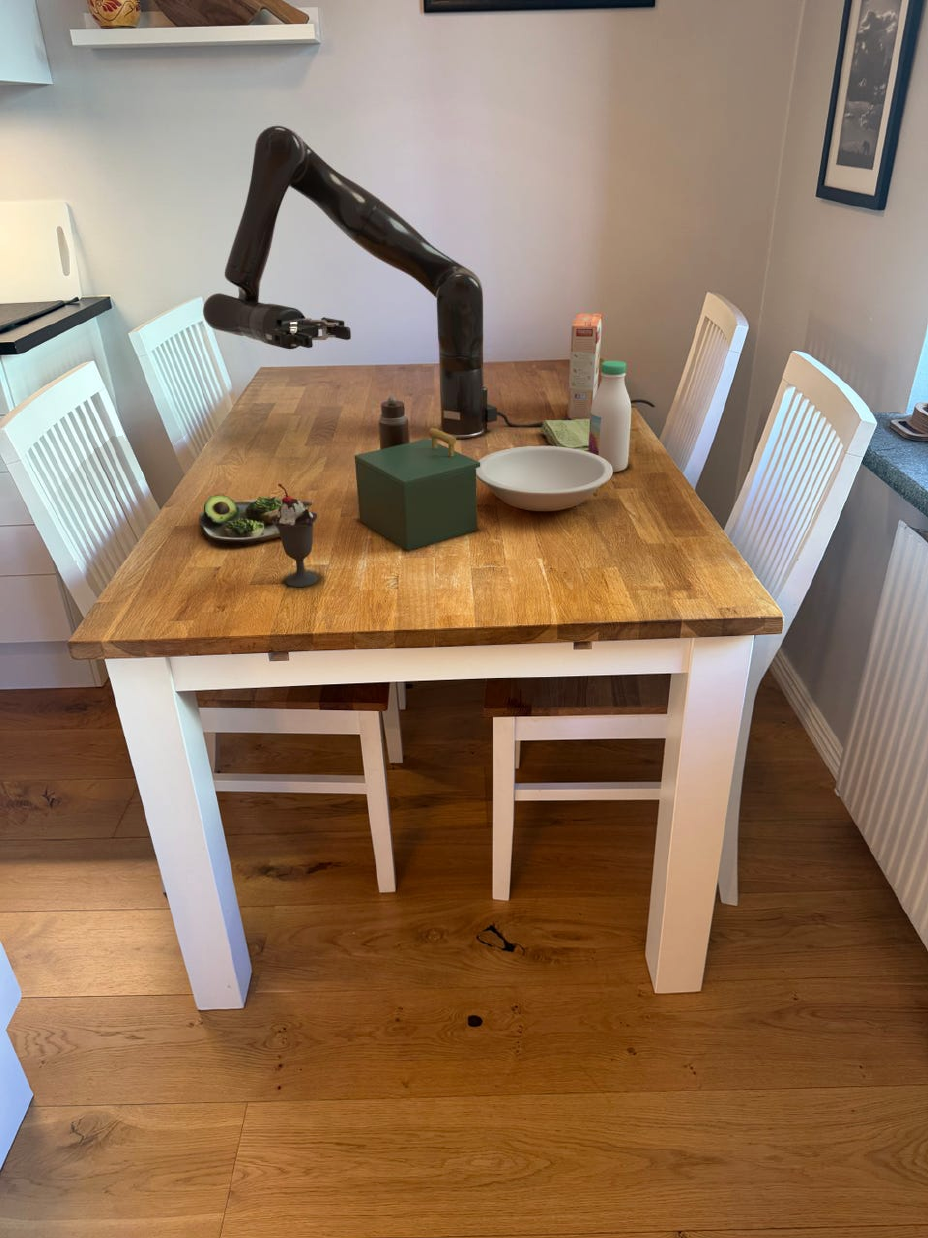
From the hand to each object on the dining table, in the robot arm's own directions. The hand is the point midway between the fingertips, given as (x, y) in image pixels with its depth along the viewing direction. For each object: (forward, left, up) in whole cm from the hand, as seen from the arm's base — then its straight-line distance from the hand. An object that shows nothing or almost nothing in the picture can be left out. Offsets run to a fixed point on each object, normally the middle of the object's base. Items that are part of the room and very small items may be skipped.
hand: (330, 337), depth 165 cm
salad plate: (+24, +12, -26) cm, 38 cm away
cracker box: (-64, -3, -26) cm, 69 cm away
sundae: (+26, +36, -26) cm, 52 cm away
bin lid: (+1, +29, -15) cm, 33 cm away
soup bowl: (-22, +34, -26) cm, 48 cm away
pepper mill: (-3, +16, -26) cm, 30 cm away
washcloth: (-49, +13, -26) cm, 57 cm away
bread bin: (+1, +29, -26) cm, 39 cm away
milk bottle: (-44, +27, -26) cm, 58 cm away
